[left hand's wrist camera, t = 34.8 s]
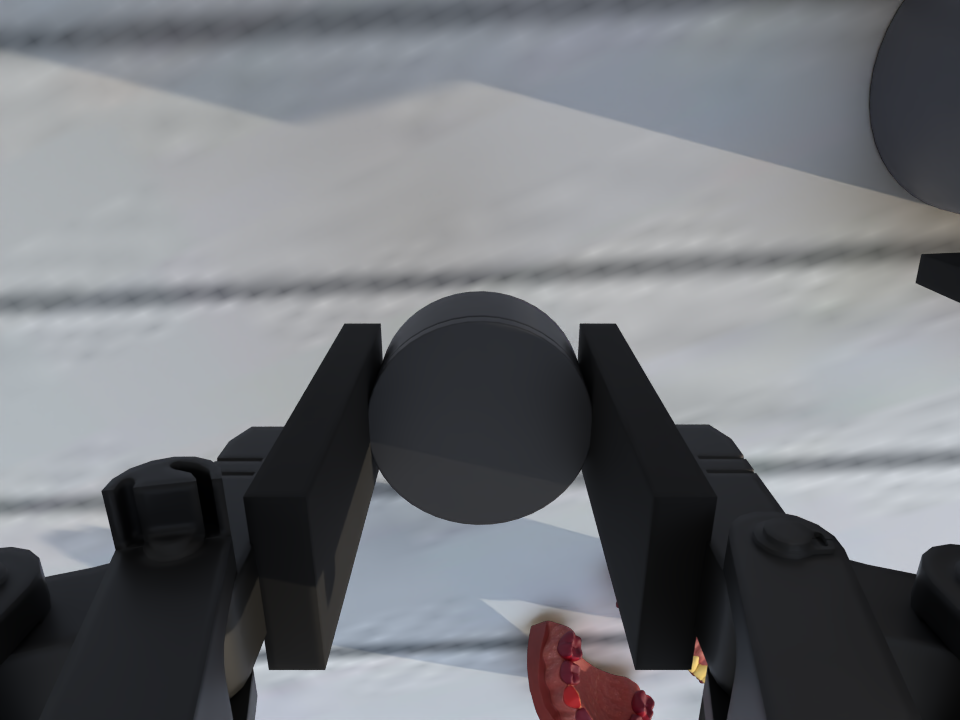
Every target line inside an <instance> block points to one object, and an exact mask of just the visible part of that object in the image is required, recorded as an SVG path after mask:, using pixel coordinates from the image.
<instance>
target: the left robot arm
mask: <svg viewBox="0 0 960 720" xmlns="http://www.w3.org/2000/svg"><path fill="white" fill-rule="evenodd" d="M382 362H383V357H382V340H381V324H344V326H343V327H342V329H341V331H340V332H339V334H338V336H337V337H336V339H335V341H334V343H333V344H332V346H331V348H330V349H329V351H328V353H327V355H326V356H325V358H324V360H323V361H322V363H321V365H320V366H319V368H318V370H317V372H316V373H315V375H314V377H313V378H312V380H311V382H310V384H309V385H308V387H307V389H306V390H305V392H304V394H303V395H302V397H301V399H300V401H299V402H298V404H297V406H296V407H295V409H294V411H293V413H292V414H291V416H290V418H289V419H288V421H287V423H286V424H285V426H284V427H251V428H249V429H248V430H246V431H244V432H243V433H241V434H240V435H238V436H237V437H235V438H234V439H232V440H231V441H229V442H228V444H227V445H226V447H225V448H224V449H223V451H222V452H221V454H220V455H219V456H218V458H217V461H215V462H212V461H211V460H207V459H202V458H198V457H171V458H165V459H160V460H154V461H150V462H147V463H145V464H142V465H139V466H136V467H133V468H131V469H129V470H127V471H125V472H124V473H122V474H120V475H119V476H117V477H115V478H113V479H112V480H111V481H110V482H109V483H108V484H107V486H106V487H105V488H104V489H103V490H102V495H103V499H104V503H105V507H106V512H107V516H108V520H109V524H110V528H111V533H112V537H113V541H114V545H115V549H116V551H115V553H114V555H113V557H112V559H111V562H110V563H109V564H105V565H101V566H97V567H93V568H88V569H83V570H78V571H73V572H68V573H63V574H58V575H53V576H48V577H45V576H44V573H43V569H42V566H41V562H40V559H39V557H37V556H36V555H35V554H34V553H32V552H31V551H30V550H26V549H20V548H14V547H6V548H0V720H255V713H256V704H257V690H256V684H255V677H254V671H253V667H254V664H255V662H256V659H257V656H258V654H259V651H260V649H261V646H262V644H263V641H264V640H265V647H266V653H267V660H268V667H269V670H325V668H326V665H327V661H328V657H329V654H330V650H331V646H332V642H333V639H334V635H335V631H336V627H337V624H338V620H339V616H340V612H341V609H342V605H343V601H344V598H345V594H346V590H347V586H348V583H349V579H350V575H351V571H352V568H353V564H354V560H355V557H356V553H357V549H358V545H359V542H360V538H361V534H362V530H363V527H364V523H365V519H366V516H367V512H368V508H369V504H370V501H371V497H372V493H373V489H374V486H375V482H376V478H377V475H378V471H379V468H378V466H377V465H376V462H375V460H374V458H373V455H372V453H371V445H370V431H369V416H368V403H369V399H370V396H371V393H372V390H373V387H374V384H375V381H376V379H377V376H378V373H379V370H380V368H381V365H382ZM578 363H579V366H580V369H581V372H582V374H583V377H584V380H585V383H586V386H587V388H588V391H589V394H590V398H591V402H592V423H591V438H590V450H589V454H588V457H587V459H586V461H585V463H584V465H583V467H582V473H583V477H584V480H585V484H586V488H587V492H588V495H589V499H590V503H591V506H592V510H593V514H594V518H595V521H596V525H597V529H598V533H599V536H600V540H601V544H602V547H603V551H604V555H605V559H606V562H607V566H608V570H609V574H610V577H611V581H612V585H613V588H614V592H615V596H616V600H617V603H618V607H619V611H620V615H621V618H622V622H623V626H624V629H625V633H626V637H627V641H628V644H629V648H630V652H631V656H632V659H633V663H634V667H635V670H692V663H693V656H694V650H695V643H696V637H697V639H698V642H699V644H700V647H701V649H702V652H703V654H704V657H705V659H706V662H707V664H708V665H707V671H706V677H705V684H704V690H703V696H702V702H701V708H700V715H699V720H960V545H955V544H947V545H941V546H935V547H932V548H930V549H929V550H928V551H927V552H925V553H924V554H923V555H922V557H921V561H920V564H919V568H918V571H917V574H912V573H907V572H902V571H897V570H892V569H887V568H882V567H877V566H872V565H867V564H863V563H859V562H855V561H852V560H849V558H848V556H847V554H846V552H845V549H844V548H843V547H842V546H841V544H840V543H839V542H838V540H837V539H836V538H835V536H833V535H832V534H830V533H829V532H827V531H826V530H825V529H823V528H822V527H820V526H819V525H817V524H815V523H812V522H810V521H807V520H805V519H803V518H800V517H798V516H794V515H789V514H785V512H784V511H783V509H782V508H781V507H780V505H779V504H778V503H777V501H776V500H775V498H774V497H773V496H772V494H771V493H770V492H769V490H768V489H767V487H766V486H765V485H764V483H763V482H762V480H761V479H760V478H759V476H758V475H757V474H756V473H754V469H753V468H752V467H751V465H750V464H749V463H748V461H747V460H746V459H744V458H743V457H744V456H743V454H742V453H741V452H740V450H739V449H738V447H737V446H736V445H735V443H734V442H733V440H732V439H731V438H729V437H728V436H726V435H724V434H723V433H721V432H720V431H718V430H717V429H715V428H713V427H712V426H710V425H675V424H674V422H673V420H672V419H671V417H670V415H669V413H668V412H667V410H666V408H665V407H664V405H663V403H662V401H661V400H660V398H659V396H658V395H657V393H656V391H655V390H654V388H653V386H652V384H651V383H650V381H649V379H648V378H647V376H646V374H645V373H644V371H643V369H642V367H641V366H640V364H639V362H638V361H637V359H636V357H635V355H634V354H633V352H632V350H631V349H630V347H629V345H628V344H627V342H626V340H625V338H624V337H623V335H622V333H621V332H620V330H619V328H618V326H617V325H616V324H580V330H579V348H578Z"/></svg>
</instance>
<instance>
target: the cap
mask: <svg viewBox="0 0 960 720" xmlns="http://www.w3.org/2000/svg"><path fill="white" fill-rule="evenodd" d="M368 416H369V431H370V445H371V453H372V455H373V458H374V460H375V462H376V465H377V466H378V468H379V470H380V471H381V473H382V475H383V476H384V478H385V479H386V480H387V482H388V483H389V484H390V485H391V487H392V488H393V489H394V490H395V491H396V492H397V493H398V494H399V495H401V496H402V497H403V498H404V499H406V500H407V501H408V502H409V503H411V504H412V505H414V506H416V507H417V508H419V509H421V510H422V511H424V512H426V513H429V514H431V515H433V516H435V517H438V518H442V519H445V520H448V521H452V522H457V523H463V524H474V525H485V524H497V523H504V522H508V521H512V520H516V519H519V518H522V517H525V516H527V515H530V514H532V513H534V512H536V511H538V510H540V509H542V508H544V507H545V506H546V505H548V504H549V503H551V502H552V501H554V500H555V499H556V498H557V497H559V496H560V495H561V494H562V493H563V492H564V491H565V490H566V489H567V488H568V487H569V486H570V485H571V483H572V482H573V481H574V480H575V478H576V477H577V475H578V474H579V472H580V471H581V469H582V467H583V465H584V463H585V461H586V459H587V457H588V454H589V450H590V438H591V423H592V402H591V398H590V394H589V391H588V388H587V386H586V383H585V380H584V377H583V374H582V372H581V369H580V366H579V363H578V361H577V358H576V355H575V353H574V350H573V348H572V346H571V344H570V342H569V340H568V339H567V337H566V335H565V334H564V332H563V331H562V330H561V329H560V327H559V326H558V325H557V324H556V323H555V322H554V321H553V320H552V319H551V318H550V317H549V316H548V315H547V314H545V313H544V312H542V311H541V310H540V309H538V308H537V307H535V306H533V305H531V304H530V303H528V302H526V301H524V300H521V299H518V298H516V297H513V296H510V295H505V294H501V293H496V292H485V291H479V292H466V293H459V294H454V295H451V296H448V297H444V298H442V299H439V300H437V301H435V302H433V303H430V304H429V305H427V306H426V307H424V308H422V309H421V310H419V311H418V312H417V313H415V314H414V315H413V316H412V317H410V318H409V319H408V320H407V321H406V322H405V323H404V324H403V326H402V327H401V328H400V329H399V330H398V332H397V333H396V335H395V336H394V337H393V339H392V341H391V343H390V345H389V347H388V349H387V351H386V354H385V357H384V359H383V362H382V365H381V368H380V370H379V373H378V376H377V379H376V381H375V384H374V387H373V390H372V393H371V396H370V399H369V403H368Z"/></svg>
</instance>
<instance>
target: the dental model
mask: <svg viewBox="0 0 960 720" xmlns="http://www.w3.org/2000/svg"><path fill="white" fill-rule="evenodd" d="M616 607H617V608H619V607H618V603H617V602H616ZM707 665H708V664H707V662H706V659H705V657H704V654H703V652H702V649H701V647H700V644H699V642H698V639H697V637H696V643H695V650H694V656H693V663H692V670H688V671H689V672H690V673H691V674H692V675H693V676H696V678H697V679H698V680H699V682H700V683H704V684H705V677H706V671H707ZM527 671H528V680H529V687H530V692H531V695H532V699H533V703H534V706H535V710H536V712H537V715H538V717H539V719H540V720H651V717H652V716H653V711H652V709H653V707H654V700H653V699H652V698H651V697H650V696H648V695H646V694H645V692H644V691H643V690H640V688H639V686H638V685H637V684H636V683H635V682H633V681H632V680H630V679H629V678H626V677H622V676H616V675H613V674H610V673H607V672H604V671H602V670H599V669H597V668H595V667H594V666H592V665H591V664H589V663H588V662H587V661H585V660H584V659H583V658H582V650H581V638H580V637H578V636H576V635H575V633H574V631H573V630H572V629H570V628H569V627H567V626H564V625H561V624H558V623H555V622H551V621H545V622H542V623H539V624H536V625H533V626H531V629H530V635H529V641H528V650H527Z"/></svg>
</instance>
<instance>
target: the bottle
mask: <svg viewBox="0 0 960 720" xmlns="http://www.w3.org/2000/svg"><path fill="white" fill-rule="evenodd" d="M870 115H871V126H872V130H873V134H874V139H875V143H876V145H877V148H878V150H879V153H880V155H881V158H882V160H883V162H884V163H885V165H886V167H887V168H888V170H889V172H890V173H891V174H892V176H893V177H894V178H895V179H896V180H897V182H898V183H899V184H900V185H901V186H902V187H903V188H905V189H906V190H907V191H908V192H909V193H910V194H912V195H913V196H915V197H916V198H918V199H920V200H921V201H923V202H925V203H927V204H929V205H932V206H934V207H937V208H939V209H943V210H946V211H950V212H954V213H958V214H960V0H904V2H903V3H902V5H901V6H900V8H899V9H898V11H897V13H896V15H895V17H894V18H893V20H892V22H891V24H890V26H889V28H888V30H887V32H886V35H885V37H884V40H883V42H882V44H881V47H880V49H879V53H878V56H877V60H876V63H875V67H874V71H873V78H872V84H871V93H870Z"/></svg>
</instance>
